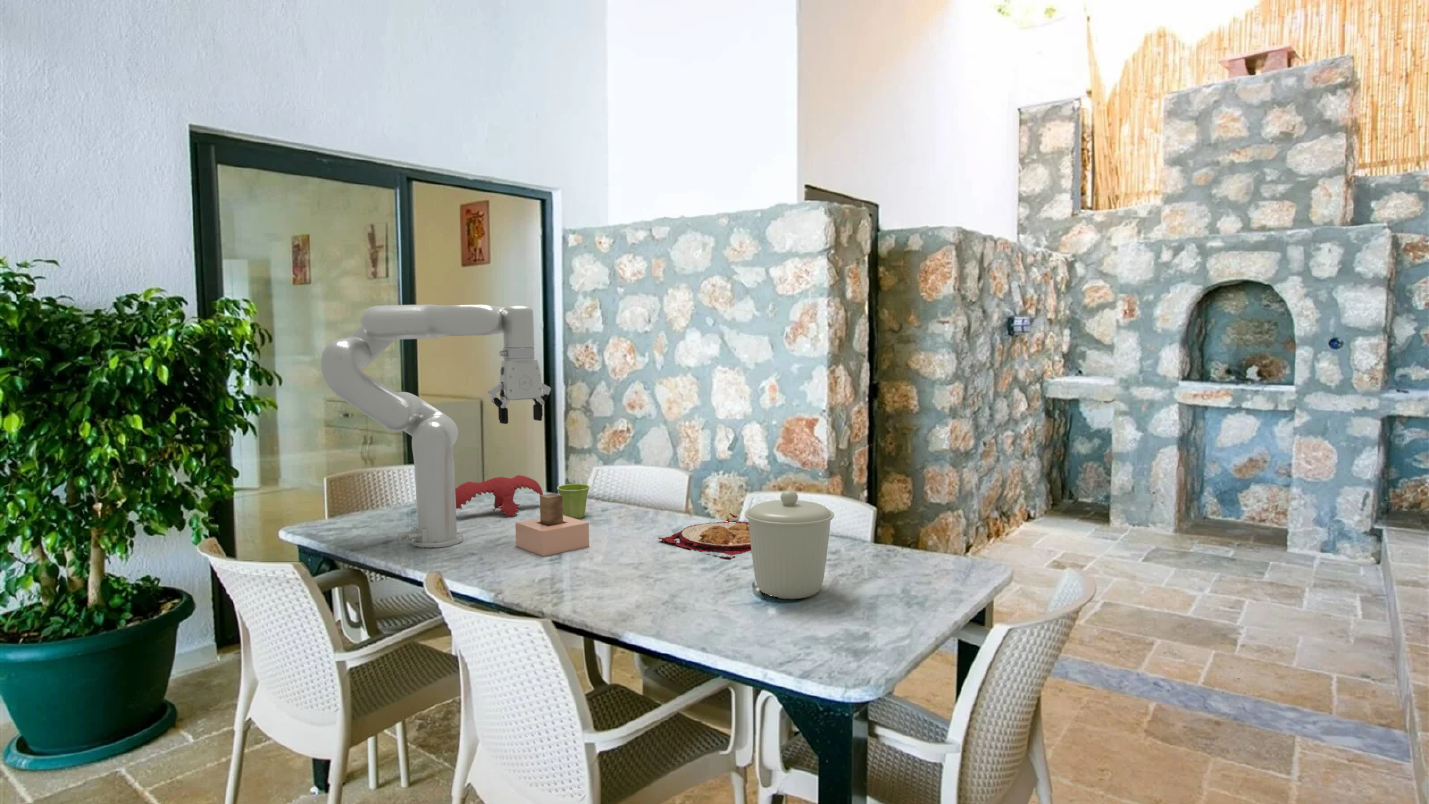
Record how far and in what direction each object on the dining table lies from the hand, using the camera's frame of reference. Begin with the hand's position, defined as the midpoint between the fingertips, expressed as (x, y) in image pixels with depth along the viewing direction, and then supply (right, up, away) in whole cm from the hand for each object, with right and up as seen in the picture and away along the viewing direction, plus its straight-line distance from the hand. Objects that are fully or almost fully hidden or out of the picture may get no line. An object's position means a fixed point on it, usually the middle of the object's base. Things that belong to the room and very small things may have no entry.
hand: (521, 421), depth 216 cm
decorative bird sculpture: (-13, -28, +32) cm, 44 cm away
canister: (+65, -34, -42) cm, 85 cm away
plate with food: (+53, -31, -1) cm, 61 cm away
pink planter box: (+9, -31, -5) cm, 33 cm away
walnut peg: (+9, -30, -5) cm, 32 cm away
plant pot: (+9, -28, +27) cm, 40 cm away
